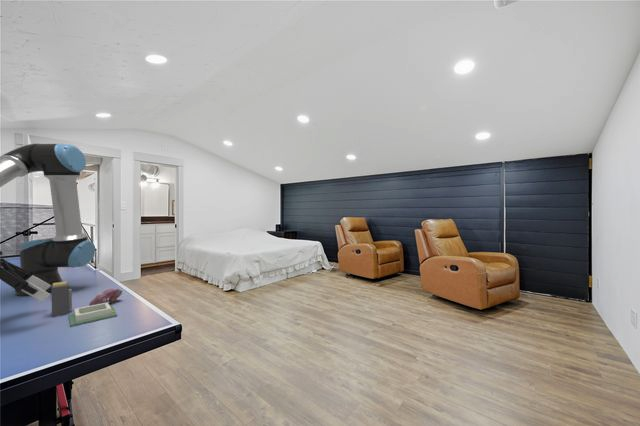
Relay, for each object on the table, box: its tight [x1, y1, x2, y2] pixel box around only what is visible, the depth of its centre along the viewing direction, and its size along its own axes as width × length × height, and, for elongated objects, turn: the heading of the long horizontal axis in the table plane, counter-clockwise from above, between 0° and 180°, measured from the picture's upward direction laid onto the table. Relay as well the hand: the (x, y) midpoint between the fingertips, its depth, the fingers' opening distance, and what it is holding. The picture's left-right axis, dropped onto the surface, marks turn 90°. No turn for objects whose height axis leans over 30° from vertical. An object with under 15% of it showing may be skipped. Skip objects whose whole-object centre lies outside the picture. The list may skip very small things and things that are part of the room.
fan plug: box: [50, 280, 73, 318], centre depth 98 cm, size 4×5×11 cm
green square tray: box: [68, 302, 118, 328], centre depth 96 cm, size 12×12×3 cm
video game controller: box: [88, 287, 123, 306], centre depth 107 cm, size 10×5×7 cm, turn 168°
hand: (47, 293), depth 95 cm, fingers open, 13 cm apart
